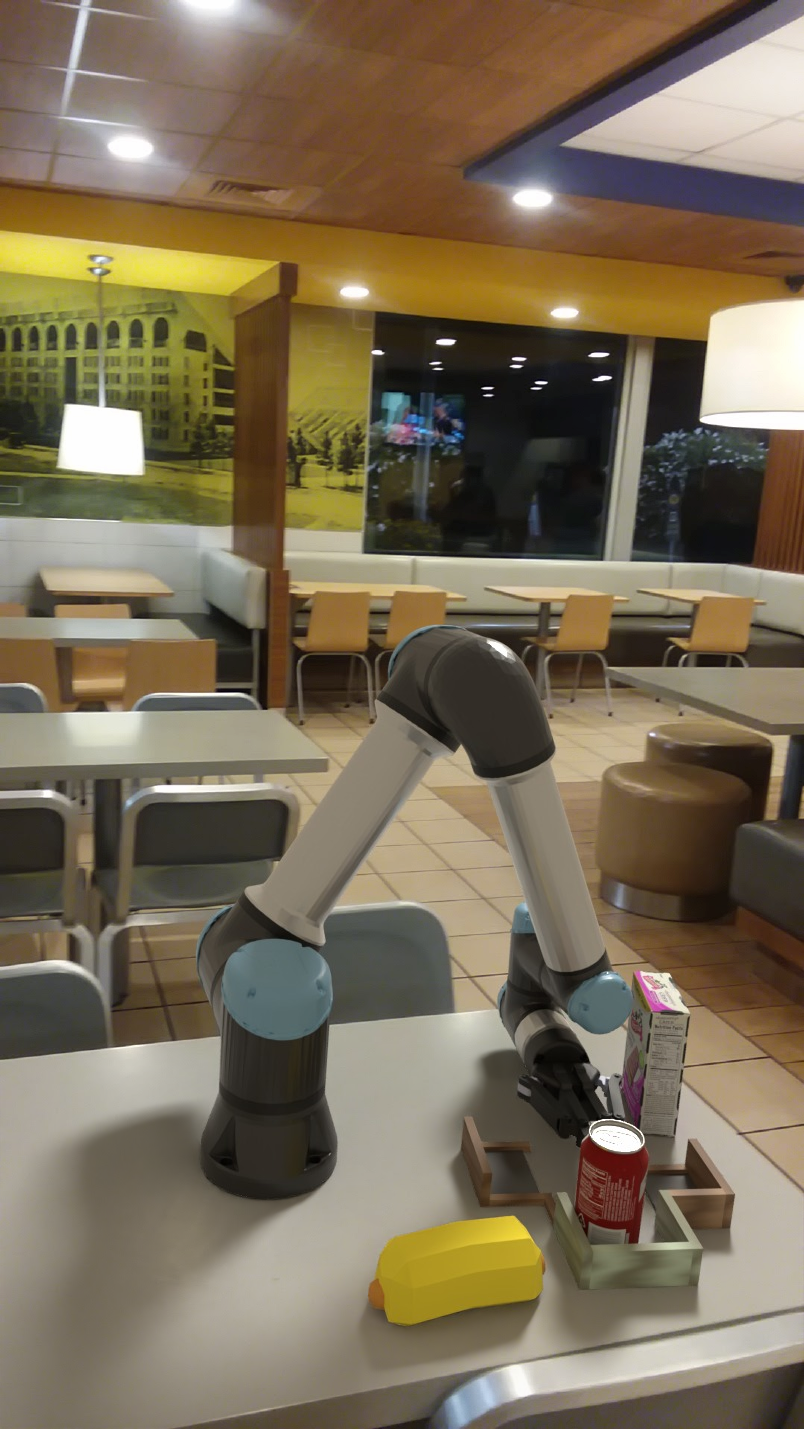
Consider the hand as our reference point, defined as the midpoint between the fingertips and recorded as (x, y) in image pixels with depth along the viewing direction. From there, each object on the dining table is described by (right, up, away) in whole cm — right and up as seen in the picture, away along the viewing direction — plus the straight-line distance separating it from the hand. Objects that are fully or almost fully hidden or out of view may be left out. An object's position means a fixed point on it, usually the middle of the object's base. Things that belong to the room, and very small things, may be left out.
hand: (615, 1168), depth 111 cm
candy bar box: (+8, -3, +23) cm, 24 cm away
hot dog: (-17, -8, -11) cm, 21 cm away
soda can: (-2, -7, -2) cm, 7 cm away
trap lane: (-1, -6, +3) cm, 7 cm away
